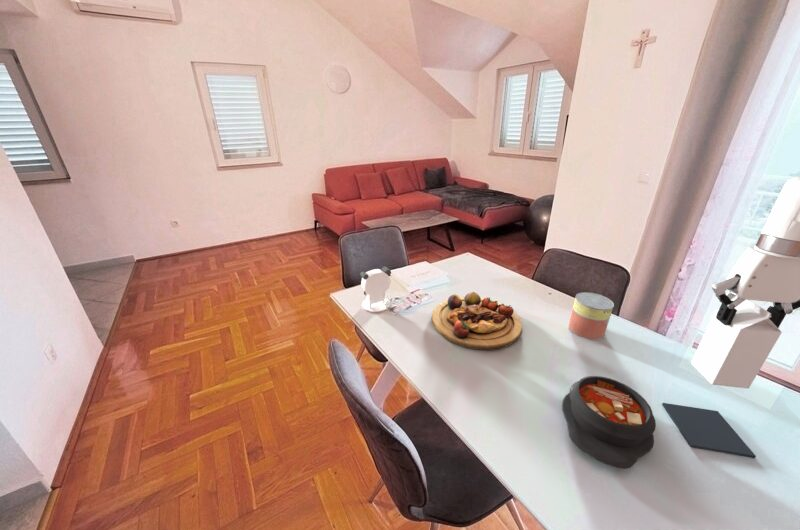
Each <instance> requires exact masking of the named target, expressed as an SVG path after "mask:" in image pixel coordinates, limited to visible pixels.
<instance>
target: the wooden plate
mask: <svg viewBox="0 0 800 530" xmlns="http://www.w3.org/2000/svg"><path fill="white" fill-rule="evenodd" d="M431 323H432V326H433V327H434V330H436V332H437V333H438V334H439V335H440V336H442V337H443V338H445V339H446V340H448V341H449V342H451V343H453V344H456V345H458V346H461V347H465V348H469V349H475V350H497V349H502V348H505V347H508V346H510V345H512V344H513V343H516V342H517V340H518V339H520V337H521V335H522V333H523V322H522V319H521V318H520V316H519V315H518V314H517V313H516V312H515V311H514V308H513V306H512V305H511V304H509V305H505V304H504V303H501V302H499V301H498V300H493V299H491V297H490V296H489V297H481V296H480V295H479V294H478V293H477V292H475V291H472V292H468V293H467V294H466V295H464V296H460V295H459V294H456V293H454V294H451V295H450V296H449V297H448V298H447V299H446V300H443V301H442V302H440V303H438V305H436V306H435V308H434V309H433V311H432V313H431Z"/></svg>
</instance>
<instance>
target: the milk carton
mask: <svg viewBox="0 0 800 530" xmlns="http://www.w3.org/2000/svg"><path fill="white" fill-rule="evenodd" d="M735 309H736V310H737V312H736V314H735V316H734V318H733V320H732V322H731V324H730V325H729V326H726V325H724V324H723V323H721V322H720V321H719V320H718V319H717V318H716V316H717V312H718V310H719V308H717V309H715V310H714V312H713V314H712V316H711V319H710V321H709V322H708V325H707V327H706V330H705V332H704V334H703V335H702V338H701V340H700V343H699V344H698V346H697V348H696V351H695V353H694V355H693V357H692V359H691V361H690V364H691V366H693V367H694V368H695V369H696V370H697V372H698V373H699V374H700V375H702V377H704V378H705V380H706V381H707V382H709V384H710V385H712V386H719V387H720V386H722V387H729V388H730V387H731V388H741V389H750V388H751V386H752V384H753V383H754V381H755V380H756V377H757V376H758V374H759V372H760V370H761V369H762V367H763V365H764V363H765V362H766V360H767V358H768V357H769V355H770V353H771V352H772V350H773V349H774V347H775V345H776V343H777V341H778V340H779V338H780V337H781V335H782V331H781V330H780V328H777V327H776V325H775V324H774V323H773V322H772V321H771V320H770V319H769V318H771V317H772V316H771V313H770V312H768V311H767V309H765V308H763V307H761V306H759V305H758V304H756V303H755V302H753V301H752V300H745V301H743V302H742V303H741V304H739V305H738V306H736V307H735Z"/></svg>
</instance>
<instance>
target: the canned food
mask: <svg viewBox="0 0 800 530" xmlns="http://www.w3.org/2000/svg"><path fill="white" fill-rule="evenodd" d="M614 307H615V303H614V301H613V300H611V299H610V298H608V297H606V296H604V295H603V294H599V293H595V292H589V291H583V292H579V293H576V295H575V298H574V303H573V306H572V310H571V313H570V318H569V321H568V323H567V327H568V329H569V331H570V332H571V333H573V334H574V335H577V337H580V338H582V339H586V340H592V341H599V340H602V339H603V338H604V337H605V334H606V331H607V328H608V325H609V323H610V319H611V316H612V312H613V309H614Z"/></svg>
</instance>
